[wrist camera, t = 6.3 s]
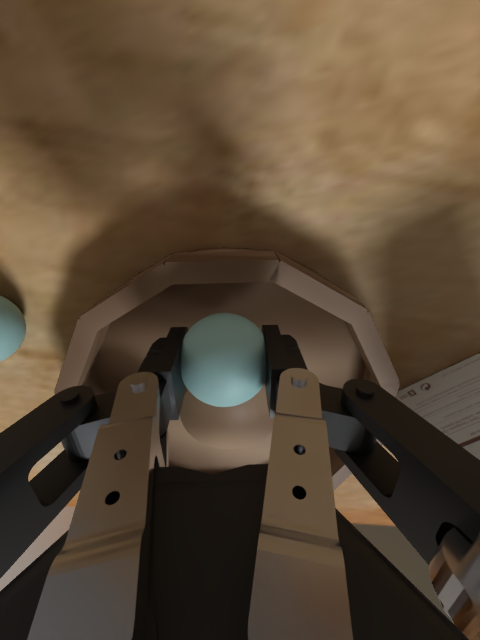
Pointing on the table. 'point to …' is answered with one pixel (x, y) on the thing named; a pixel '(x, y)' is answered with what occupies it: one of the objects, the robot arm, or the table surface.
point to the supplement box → (450, 402)
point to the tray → (236, 298)
